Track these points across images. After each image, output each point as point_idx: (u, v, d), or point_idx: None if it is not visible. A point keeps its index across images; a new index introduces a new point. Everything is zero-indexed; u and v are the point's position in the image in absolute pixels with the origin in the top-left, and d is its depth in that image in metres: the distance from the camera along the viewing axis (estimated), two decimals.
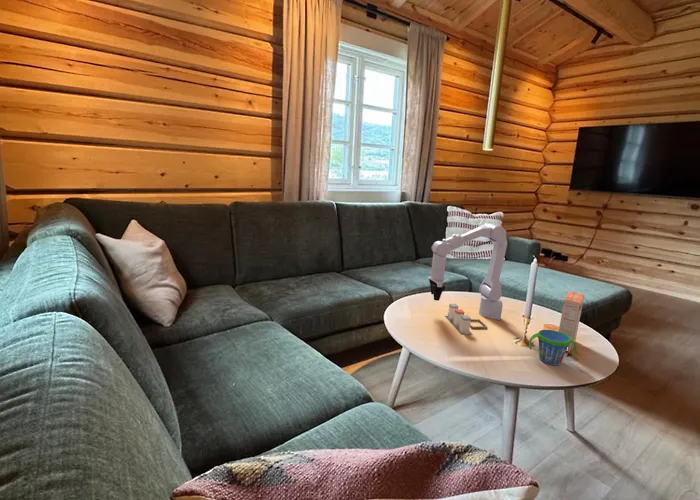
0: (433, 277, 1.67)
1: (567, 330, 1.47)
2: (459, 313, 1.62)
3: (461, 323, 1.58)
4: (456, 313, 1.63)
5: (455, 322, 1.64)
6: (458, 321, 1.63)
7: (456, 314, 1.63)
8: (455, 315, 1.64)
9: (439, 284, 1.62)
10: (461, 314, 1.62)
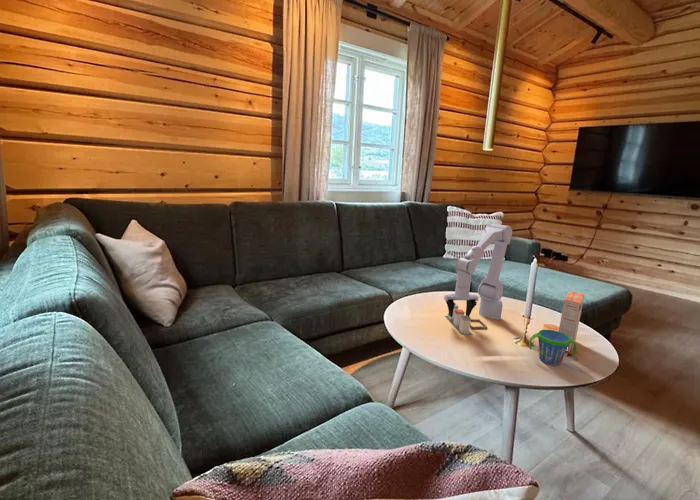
0: None
1: (567, 330, 1.47)
2: (459, 313, 1.62)
3: (461, 323, 1.58)
4: (456, 313, 1.63)
5: (455, 322, 1.64)
6: (458, 321, 1.63)
7: (456, 314, 1.63)
8: (455, 315, 1.64)
9: (445, 297, 1.61)
10: (461, 314, 1.62)
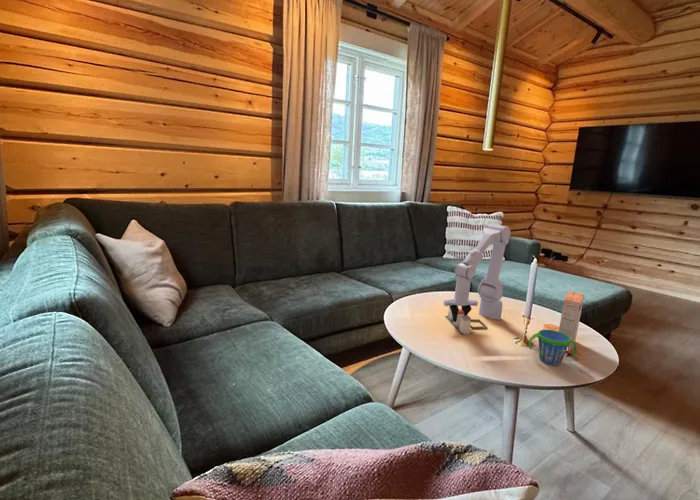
0: None
1: (567, 330, 1.47)
2: (459, 313, 1.62)
3: (461, 323, 1.58)
4: None
5: (455, 322, 1.64)
6: (458, 321, 1.63)
7: None
8: None
9: (444, 302, 1.62)
10: (461, 314, 1.62)
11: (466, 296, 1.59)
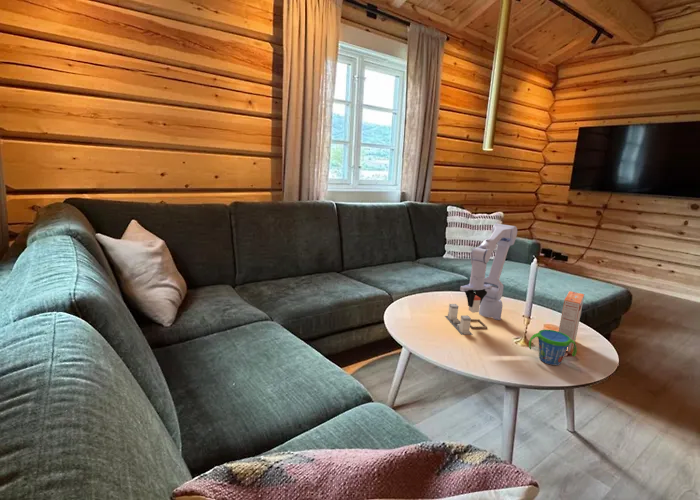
0: (469, 283, 1.63)
1: (567, 330, 1.47)
2: (476, 299, 1.61)
3: (461, 323, 1.58)
4: None
5: (471, 308, 1.63)
6: (474, 307, 1.62)
7: None
8: None
9: (461, 288, 1.60)
10: (478, 300, 1.61)
11: (482, 280, 1.59)
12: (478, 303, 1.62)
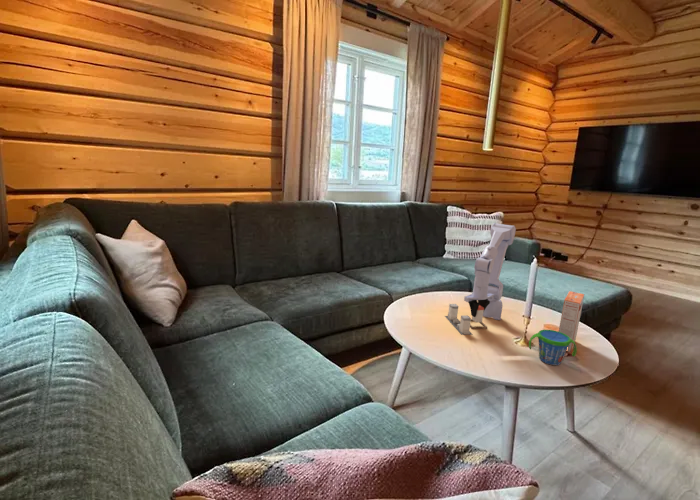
0: (472, 293, 1.64)
1: (567, 330, 1.47)
2: (479, 309, 1.62)
3: (461, 323, 1.58)
4: None
5: (475, 318, 1.64)
6: (478, 317, 1.63)
7: None
8: None
9: (465, 298, 1.60)
10: (481, 310, 1.62)
11: (486, 290, 1.60)
12: (482, 313, 1.63)
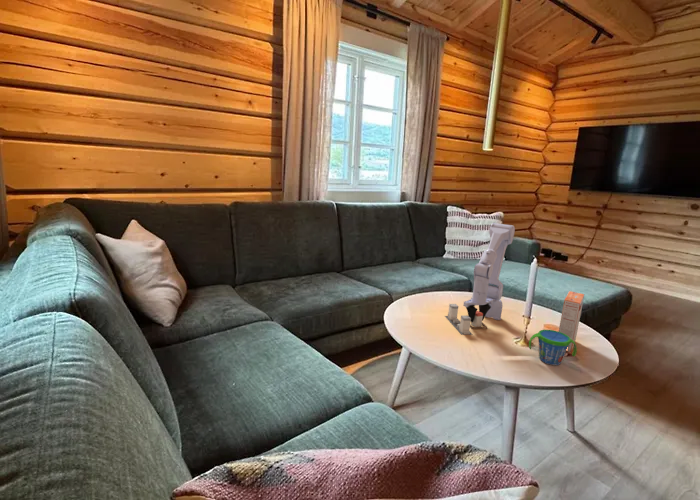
0: (472, 298, 1.64)
1: (567, 330, 1.47)
2: (479, 315, 1.63)
3: (461, 323, 1.58)
4: (475, 315, 1.63)
5: (474, 324, 1.64)
6: (477, 323, 1.63)
7: (475, 316, 1.63)
8: (474, 317, 1.64)
9: (464, 303, 1.61)
10: (480, 316, 1.63)
11: (485, 295, 1.60)
12: (481, 319, 1.64)
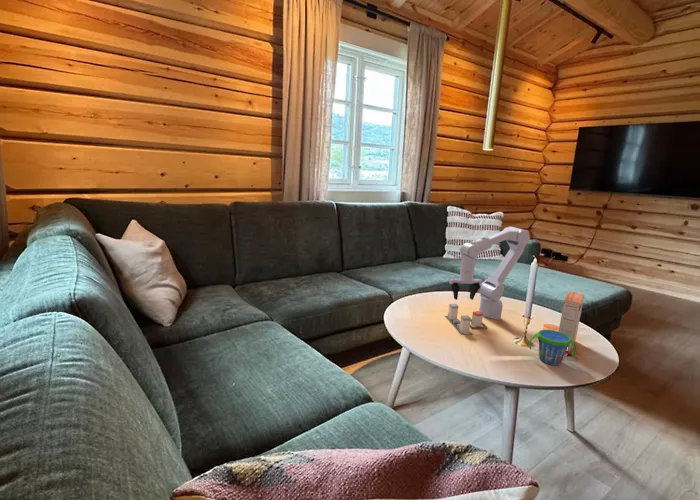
0: None
1: (567, 330, 1.47)
2: (479, 315, 1.63)
3: (461, 323, 1.58)
4: (475, 315, 1.63)
5: (474, 324, 1.64)
6: (477, 323, 1.63)
7: (475, 316, 1.63)
8: (474, 317, 1.64)
9: (450, 280, 1.69)
10: (480, 316, 1.63)
11: (471, 274, 1.66)
12: (481, 319, 1.64)
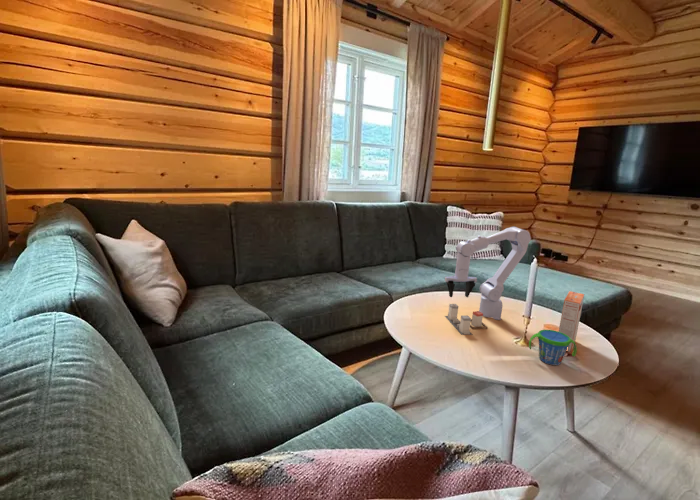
0: None
1: (567, 330, 1.47)
2: (479, 315, 1.63)
3: (461, 323, 1.58)
4: (475, 315, 1.63)
5: (474, 324, 1.64)
6: (477, 323, 1.63)
7: (475, 316, 1.63)
8: (474, 317, 1.64)
9: (445, 278, 1.72)
10: (480, 316, 1.63)
11: (466, 272, 1.69)
12: (481, 319, 1.64)
